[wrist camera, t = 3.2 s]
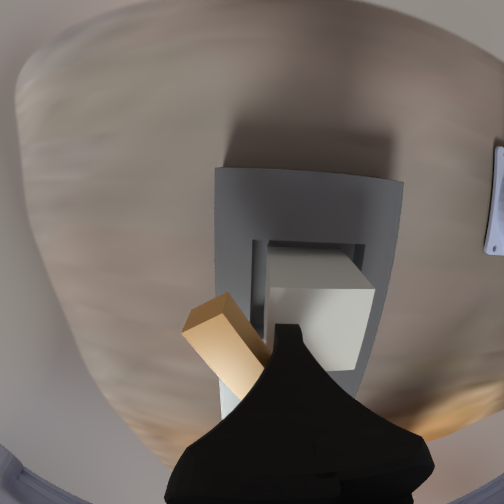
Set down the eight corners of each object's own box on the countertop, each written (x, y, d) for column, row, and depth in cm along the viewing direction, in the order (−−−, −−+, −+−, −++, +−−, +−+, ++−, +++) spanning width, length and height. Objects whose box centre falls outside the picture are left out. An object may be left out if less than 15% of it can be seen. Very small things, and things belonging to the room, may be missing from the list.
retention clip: (235, 287, 10) (230, 308, 8) (330, 420, 12) (334, 442, 10) (184, 313, 10) (174, 336, 9) (291, 434, 12) (292, 456, 11)
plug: (341, 249, 15) (375, 289, 10) (331, 314, 16) (354, 369, 11) (267, 246, 15) (269, 287, 10) (263, 313, 16) (264, 371, 11)
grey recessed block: (383, 178, 14) (444, 190, 8) (325, 434, 21) (335, 486, 15) (222, 167, 14) (197, 169, 9) (227, 434, 21) (221, 488, 15)
